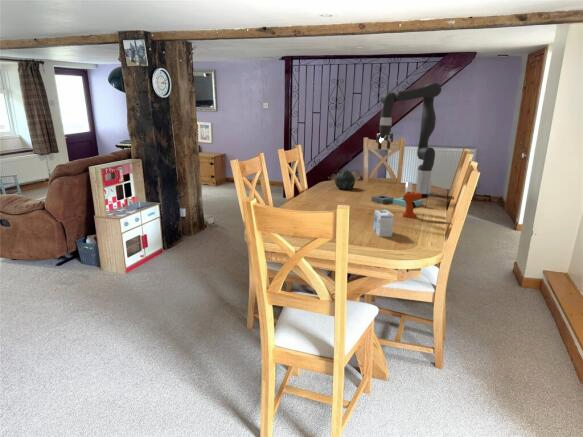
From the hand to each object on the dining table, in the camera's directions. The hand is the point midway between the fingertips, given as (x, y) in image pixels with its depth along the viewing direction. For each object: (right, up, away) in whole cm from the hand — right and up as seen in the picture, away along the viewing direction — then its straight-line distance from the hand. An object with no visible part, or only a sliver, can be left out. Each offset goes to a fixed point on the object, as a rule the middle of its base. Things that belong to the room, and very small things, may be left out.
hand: (383, 149), depth 278 cm
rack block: (+11, -38, -17) cm, 43 cm away
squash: (-23, -25, +30) cm, 45 cm away
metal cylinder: (+11, -38, -17) cm, 43 cm away
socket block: (-3, -36, -10) cm, 38 cm away
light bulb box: (-18, -55, -76) cm, 96 cm away
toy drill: (+8, -47, -47) cm, 67 cm away
